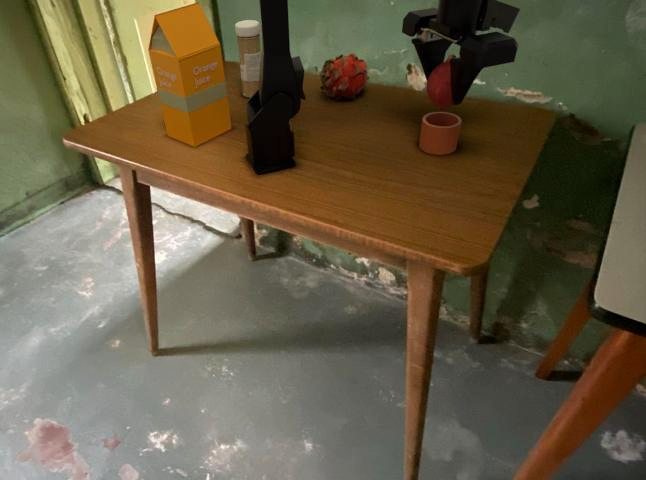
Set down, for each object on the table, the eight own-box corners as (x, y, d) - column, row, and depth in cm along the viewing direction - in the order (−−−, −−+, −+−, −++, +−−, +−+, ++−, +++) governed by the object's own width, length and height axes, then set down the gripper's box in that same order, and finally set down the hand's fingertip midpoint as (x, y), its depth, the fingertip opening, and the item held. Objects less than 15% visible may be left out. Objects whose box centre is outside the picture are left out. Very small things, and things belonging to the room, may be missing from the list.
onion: (463, 118, 72) (475, 62, 67) (423, 117, 73) (431, 61, 68) (461, 102, 76) (471, 48, 71) (423, 101, 77) (430, 48, 72)
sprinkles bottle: (242, 91, 101) (234, 20, 92) (264, 89, 101) (258, 18, 92) (243, 100, 97) (235, 27, 89) (265, 97, 98) (260, 24, 89)
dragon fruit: (318, 113, 94) (358, 103, 101) (348, 95, 88) (389, 85, 94) (302, 70, 93) (344, 62, 100) (331, 48, 86) (374, 42, 93)
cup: (431, 158, 76) (436, 130, 73) (412, 142, 80) (415, 116, 77) (463, 150, 77) (469, 123, 74) (442, 135, 81) (447, 109, 78)
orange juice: (232, 128, 88) (216, 4, 75) (194, 147, 83) (170, 18, 70) (203, 118, 92) (183, -1, 79) (166, 135, 87) (138, 11, 74)
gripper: (570, -18, 58) (533, 109, 68) (473, -41, 71) (454, 68, 82) (491, -6, 56) (465, 125, 66) (406, -32, 69) (395, 80, 79)
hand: (444, 96), depth 73 cm, fingers closed on onion, 6 cm apart
